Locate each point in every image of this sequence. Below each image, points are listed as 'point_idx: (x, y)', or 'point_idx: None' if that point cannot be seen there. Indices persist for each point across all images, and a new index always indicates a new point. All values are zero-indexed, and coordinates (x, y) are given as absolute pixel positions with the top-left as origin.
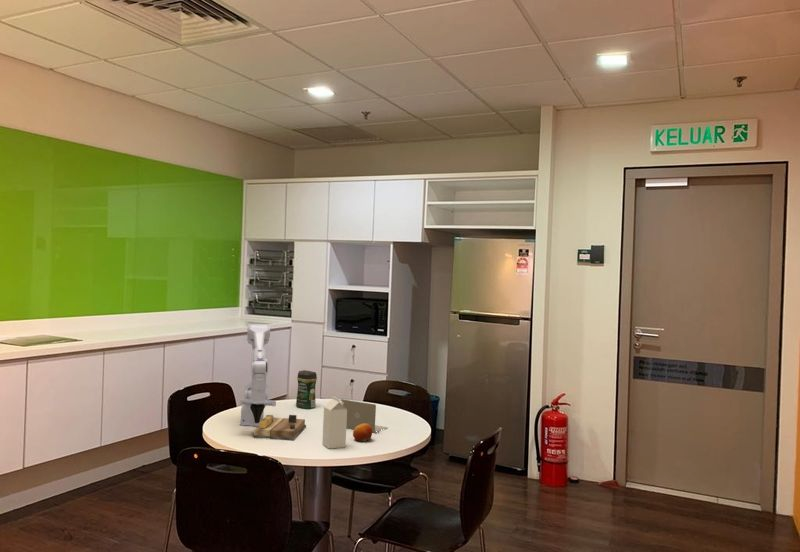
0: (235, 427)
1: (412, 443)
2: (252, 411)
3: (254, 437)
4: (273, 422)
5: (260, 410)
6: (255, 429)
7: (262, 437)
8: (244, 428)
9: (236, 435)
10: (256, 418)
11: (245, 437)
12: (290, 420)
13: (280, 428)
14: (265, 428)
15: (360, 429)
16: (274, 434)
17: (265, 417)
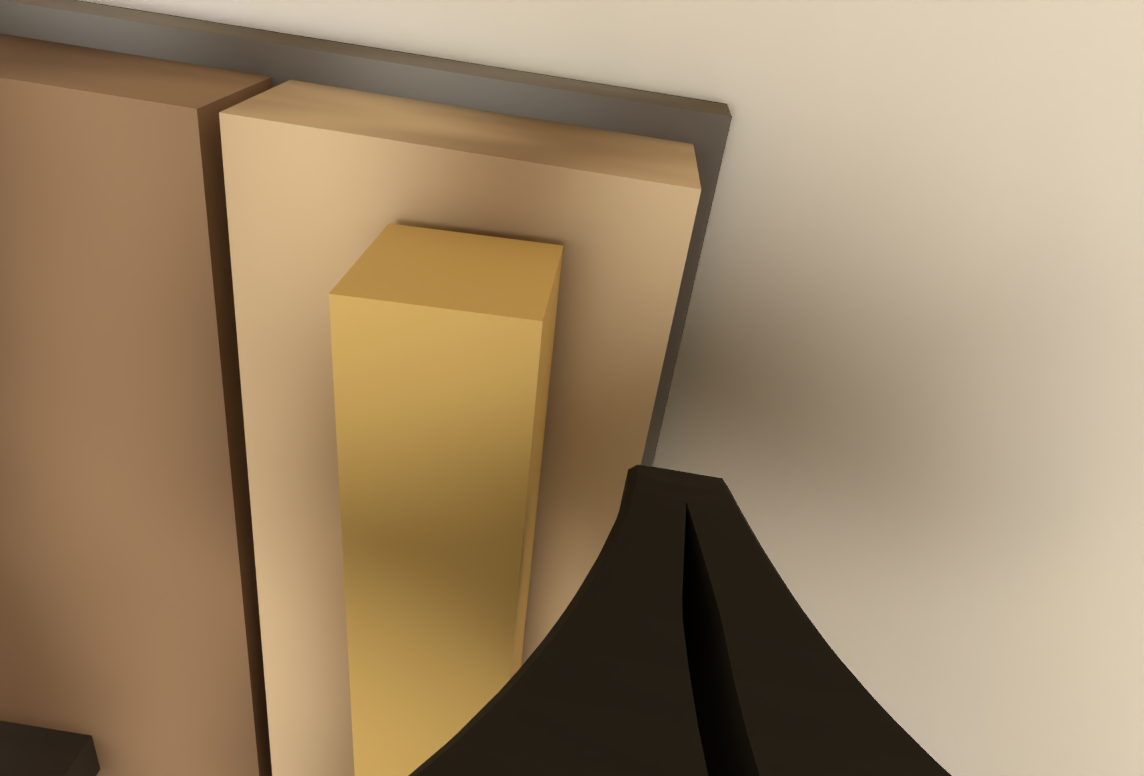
0: (1064, 758)
1: None
2: (912, 760)
3: (677, 98)
4: None
5: (481, 741)
6: (668, 178)
7: (478, 69)
8: (910, 713)
9: (1103, 291)
10: (684, 540)
11: (896, 136)
12: (31, 765)
13: (21, 296)
14: None
15: None
16: (150, 69)
17: None
